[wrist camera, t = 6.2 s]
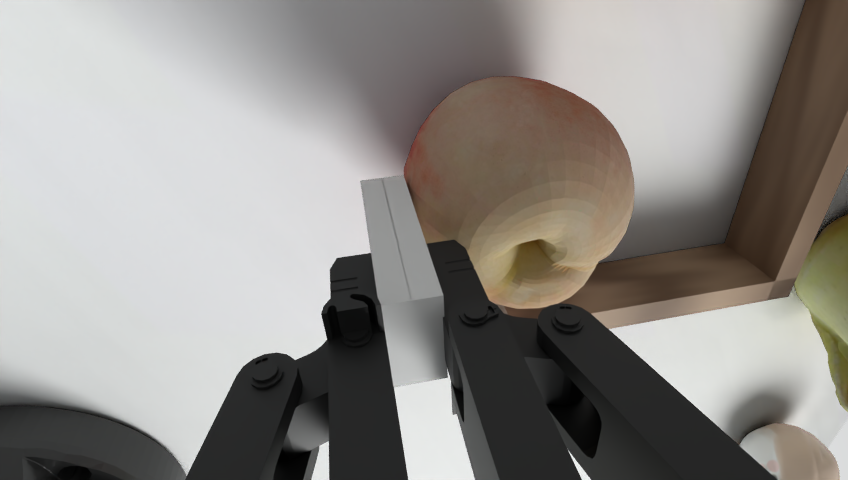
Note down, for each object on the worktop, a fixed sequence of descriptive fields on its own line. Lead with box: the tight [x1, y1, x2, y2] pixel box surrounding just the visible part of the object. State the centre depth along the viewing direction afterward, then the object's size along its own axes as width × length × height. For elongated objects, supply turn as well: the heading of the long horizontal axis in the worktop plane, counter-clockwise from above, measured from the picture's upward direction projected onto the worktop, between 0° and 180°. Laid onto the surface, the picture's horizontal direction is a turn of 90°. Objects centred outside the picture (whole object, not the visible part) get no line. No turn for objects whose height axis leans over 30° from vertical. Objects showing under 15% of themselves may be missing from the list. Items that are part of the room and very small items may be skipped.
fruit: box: [404, 76, 634, 309], centre depth 17 cm, size 8×8×8 cm
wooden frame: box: [494, 0, 848, 329], centre depth 20 cm, size 14×16×4 cm
